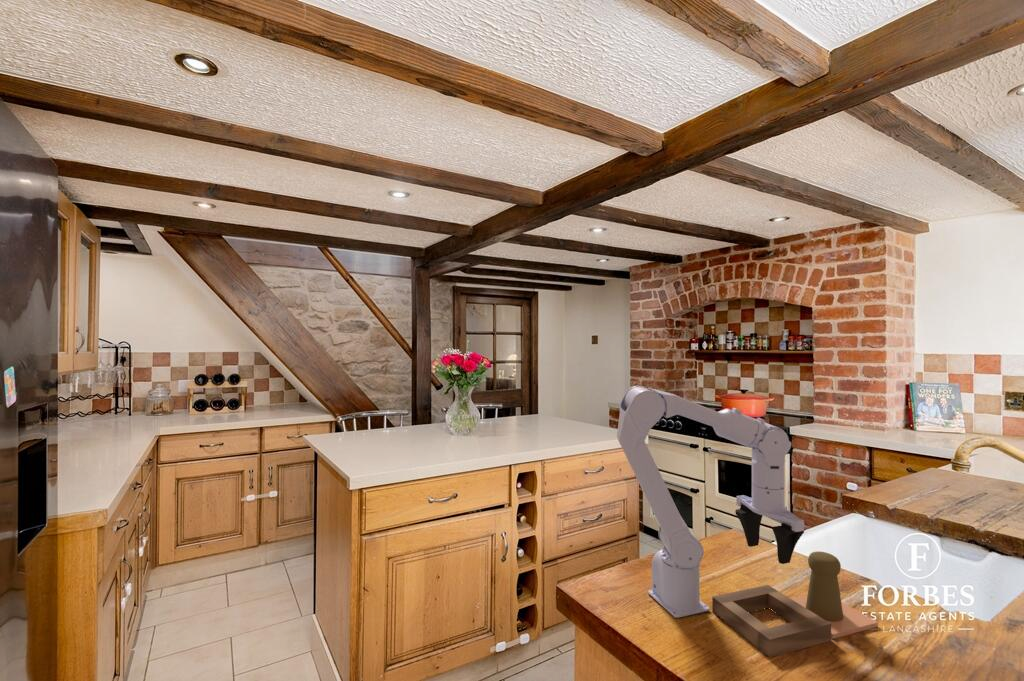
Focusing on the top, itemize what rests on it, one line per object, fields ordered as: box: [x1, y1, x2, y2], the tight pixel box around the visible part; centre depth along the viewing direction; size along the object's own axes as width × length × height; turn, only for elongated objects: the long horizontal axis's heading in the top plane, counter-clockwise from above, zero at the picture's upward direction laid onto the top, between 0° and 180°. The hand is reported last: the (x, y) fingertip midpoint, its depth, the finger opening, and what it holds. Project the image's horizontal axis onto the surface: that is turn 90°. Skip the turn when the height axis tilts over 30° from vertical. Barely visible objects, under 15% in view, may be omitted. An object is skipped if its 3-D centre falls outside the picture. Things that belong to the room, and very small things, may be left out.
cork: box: [806, 551, 843, 622], centre depth 90 cm, size 6×6×11 cm
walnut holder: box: [711, 584, 832, 658], centre depth 88 cm, size 14×14×3 cm
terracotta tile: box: [790, 594, 879, 640], centre depth 91 cm, size 11×11×1 cm
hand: (768, 553), depth 94 cm, fingers open, 7 cm apart
